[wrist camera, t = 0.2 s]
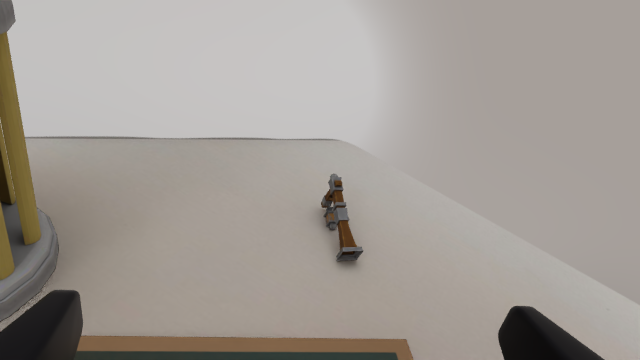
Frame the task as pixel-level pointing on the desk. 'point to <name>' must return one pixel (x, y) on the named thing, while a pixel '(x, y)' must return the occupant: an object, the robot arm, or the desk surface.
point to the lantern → (18, 197)
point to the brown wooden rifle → (340, 219)
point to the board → (239, 348)
